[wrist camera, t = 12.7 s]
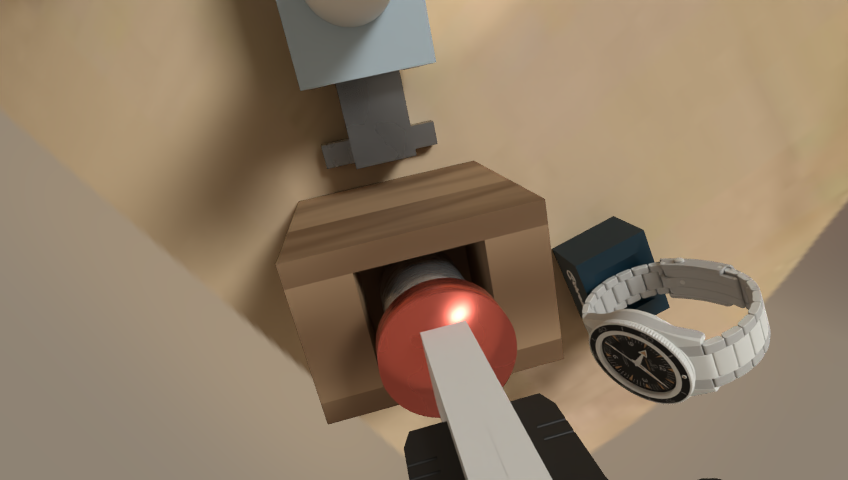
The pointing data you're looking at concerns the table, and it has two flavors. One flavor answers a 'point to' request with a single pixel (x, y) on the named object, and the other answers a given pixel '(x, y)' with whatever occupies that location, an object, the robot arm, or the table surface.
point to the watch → (643, 299)
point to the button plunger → (434, 326)
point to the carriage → (354, 38)
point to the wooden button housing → (404, 239)
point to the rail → (376, 124)
